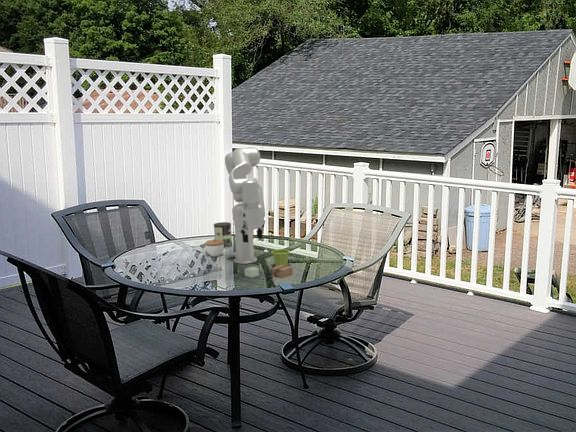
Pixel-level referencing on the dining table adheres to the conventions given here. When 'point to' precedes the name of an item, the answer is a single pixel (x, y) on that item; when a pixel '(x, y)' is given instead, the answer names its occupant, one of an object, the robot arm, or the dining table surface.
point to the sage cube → (251, 272)
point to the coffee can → (223, 233)
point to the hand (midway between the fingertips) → (252, 240)
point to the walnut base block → (282, 271)
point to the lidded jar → (214, 247)
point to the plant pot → (280, 257)
